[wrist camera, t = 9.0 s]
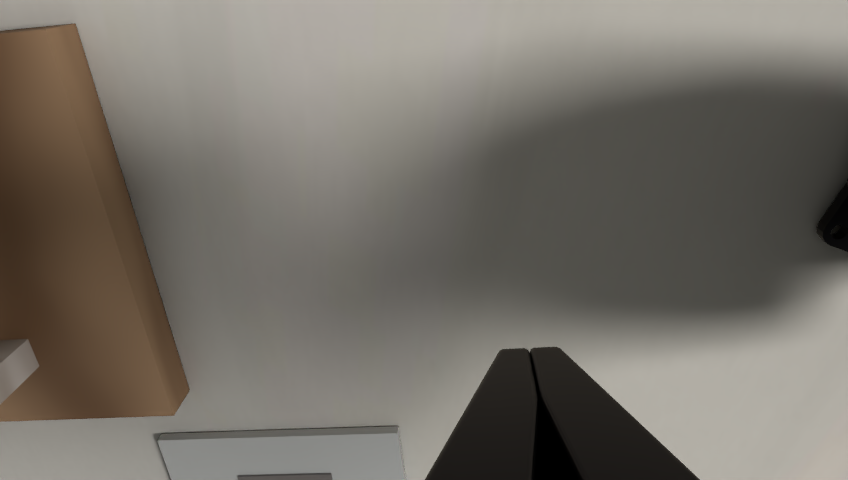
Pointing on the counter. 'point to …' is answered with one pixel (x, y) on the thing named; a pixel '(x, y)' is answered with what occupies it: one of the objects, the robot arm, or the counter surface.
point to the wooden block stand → (72, 250)
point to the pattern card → (285, 454)
